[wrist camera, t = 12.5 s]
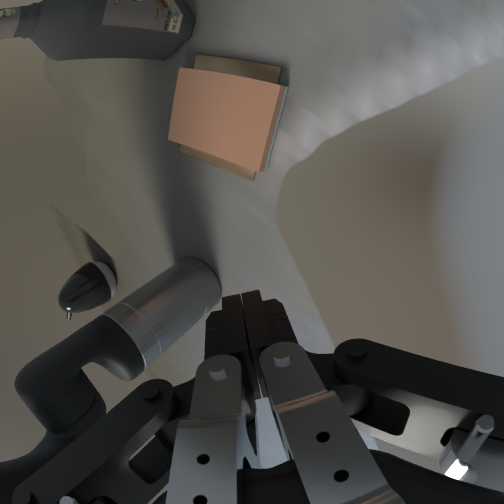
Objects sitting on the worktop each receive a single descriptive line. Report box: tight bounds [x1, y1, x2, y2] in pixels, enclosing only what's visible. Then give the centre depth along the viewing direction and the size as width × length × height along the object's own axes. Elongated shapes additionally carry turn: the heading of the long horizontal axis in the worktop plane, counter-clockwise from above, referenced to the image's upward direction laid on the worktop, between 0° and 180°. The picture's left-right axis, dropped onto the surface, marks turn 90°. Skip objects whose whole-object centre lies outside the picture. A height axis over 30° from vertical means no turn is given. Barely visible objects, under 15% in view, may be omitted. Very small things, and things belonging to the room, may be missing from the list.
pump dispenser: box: [58, 262, 116, 320], centre depth 58 cm, size 10×10×15 cm
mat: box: [179, 55, 282, 181], centre depth 32 cm, size 14×12×1 cm
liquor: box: [0, 0, 195, 61], centre depth 19 cm, size 9×9×30 cm
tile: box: [168, 67, 288, 172], centre depth 31 cm, size 10×2×14 cm
